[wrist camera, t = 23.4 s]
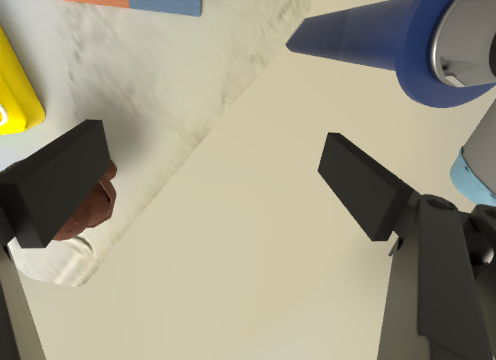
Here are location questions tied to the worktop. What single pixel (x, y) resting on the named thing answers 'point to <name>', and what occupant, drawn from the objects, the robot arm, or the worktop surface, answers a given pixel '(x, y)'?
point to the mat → (154, 5)
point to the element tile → (16, 94)
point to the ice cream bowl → (91, 208)
